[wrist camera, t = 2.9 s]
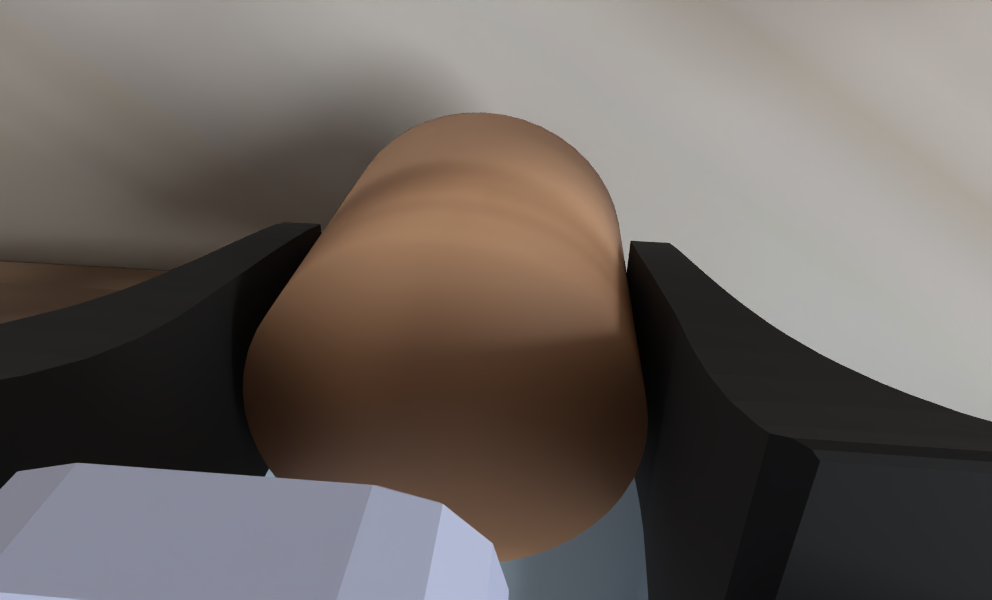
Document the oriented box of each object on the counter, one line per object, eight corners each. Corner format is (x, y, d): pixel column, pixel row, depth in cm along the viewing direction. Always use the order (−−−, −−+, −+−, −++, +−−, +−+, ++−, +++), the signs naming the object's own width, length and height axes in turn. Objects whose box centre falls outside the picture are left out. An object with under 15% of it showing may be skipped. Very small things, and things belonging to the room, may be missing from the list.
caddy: (366, 282, 17) (324, 369, 14) (393, 612, 23) (367, 722, 20) (-268, 245, 18) (-435, 319, 15) (-84, 571, 24) (-176, 670, 21)
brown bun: (606, 369, 14) (623, 578, 10) (357, 352, 15) (271, 549, 10) (635, 119, 12) (677, 255, 8) (335, 106, 12) (210, 229, 8)
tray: (713, 377, 16) (756, 523, 12) (655, 649, 21) (674, 810, 17) (82, 336, 17) (-49, 461, 13) (168, 606, 22) (89, 751, 18)
